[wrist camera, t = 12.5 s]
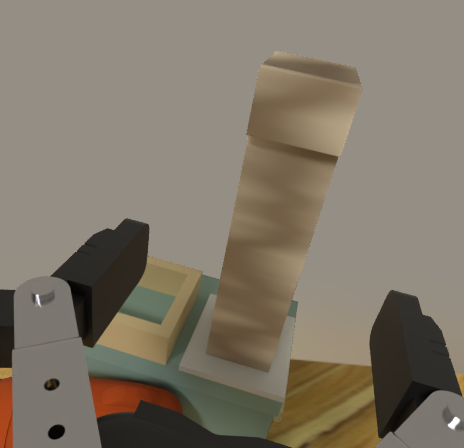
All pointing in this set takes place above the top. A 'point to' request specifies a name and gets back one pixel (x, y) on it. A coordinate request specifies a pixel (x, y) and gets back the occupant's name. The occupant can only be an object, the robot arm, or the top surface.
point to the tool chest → (190, 353)
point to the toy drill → (104, 398)
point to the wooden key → (279, 199)
